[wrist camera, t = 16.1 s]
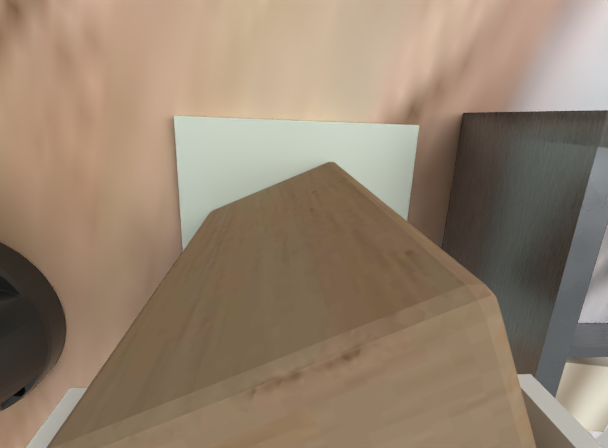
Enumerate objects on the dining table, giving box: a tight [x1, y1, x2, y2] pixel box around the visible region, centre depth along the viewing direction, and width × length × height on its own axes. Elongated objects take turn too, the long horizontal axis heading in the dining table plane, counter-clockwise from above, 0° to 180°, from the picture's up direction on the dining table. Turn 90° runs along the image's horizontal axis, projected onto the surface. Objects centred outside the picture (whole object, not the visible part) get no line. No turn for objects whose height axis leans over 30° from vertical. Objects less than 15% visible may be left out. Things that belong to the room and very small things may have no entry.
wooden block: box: [46, 162, 536, 448], centre depth 18 cm, size 10×10×20 cm
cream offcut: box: [555, 357, 608, 432], centre depth 32 cm, size 12×7×2 cm, turn 80°
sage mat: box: [174, 116, 419, 250], centre depth 28 cm, size 17×18×1 cm
